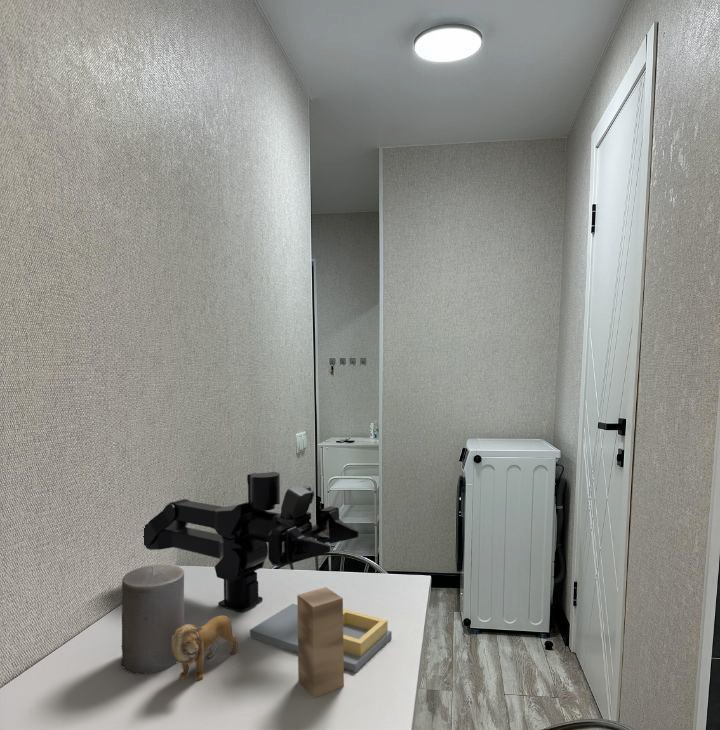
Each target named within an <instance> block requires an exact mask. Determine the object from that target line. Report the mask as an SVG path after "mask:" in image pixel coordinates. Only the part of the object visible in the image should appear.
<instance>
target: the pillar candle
mask: <svg viewBox="0 0 720 730" xmlns="http://www.w3.org/2000/svg"><path fill="white" fill-rule="evenodd" d="M121 581H122V582H121V660H120V662H121V663H120V665H121V667H122V666H123V667H124V668H123V667H122V668H123V669H125V670H124V671H126V672H128V673H130V674H131V673H132V674H137V673H138V674H137V675H147V674H154V673H158V672H161V671H163V670H164V671H165V670H166V669H169V668H170V666H171V667H173V666H174V665H176V664H177V663H179V662H178V661H177V660H176V658H175V656H174V654H173V651H172V636H173V635H174V634H175V631H176V630H177V629H178V628H179V627H181V626H182V625H185V570H184V569H183V567H180V566H179V565H177V564H167V563H166V564H164V563H163V564H159V563H158V564H151V565H150V564H148V565H146V566H141V567H138V568H136V569H133V570H130V571H129V572H127V573H126V574H125V575H124V576H122V579H121ZM176 662H177V663H176ZM153 672H154V673H153ZM145 673H147V674H145Z"/></svg>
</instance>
